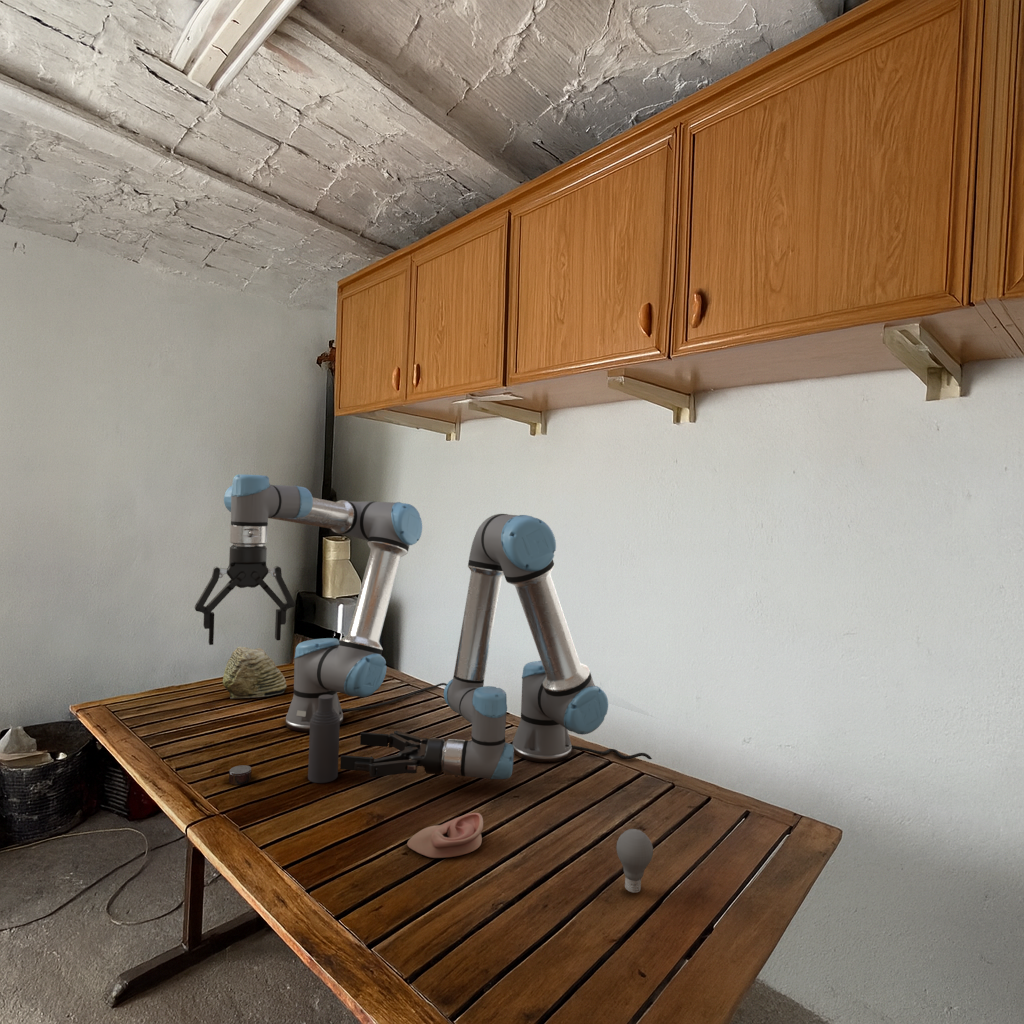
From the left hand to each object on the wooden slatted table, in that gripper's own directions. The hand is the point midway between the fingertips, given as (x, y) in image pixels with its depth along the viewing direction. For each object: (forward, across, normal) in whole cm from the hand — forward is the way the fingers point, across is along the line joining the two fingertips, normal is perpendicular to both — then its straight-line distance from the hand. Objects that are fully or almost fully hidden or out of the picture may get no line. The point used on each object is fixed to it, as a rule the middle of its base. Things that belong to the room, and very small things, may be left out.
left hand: (245, 641), depth 139 cm
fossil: (+31, +11, +61) cm, 69 cm away
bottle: (+31, +17, -5) cm, 35 cm away
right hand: (+24, +22, -9) cm, 34 cm away
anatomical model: (+31, +31, -42) cm, 61 cm away
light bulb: (+31, +53, -69) cm, 92 cm away
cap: (+29, 0, 0) cm, 29 cm away
